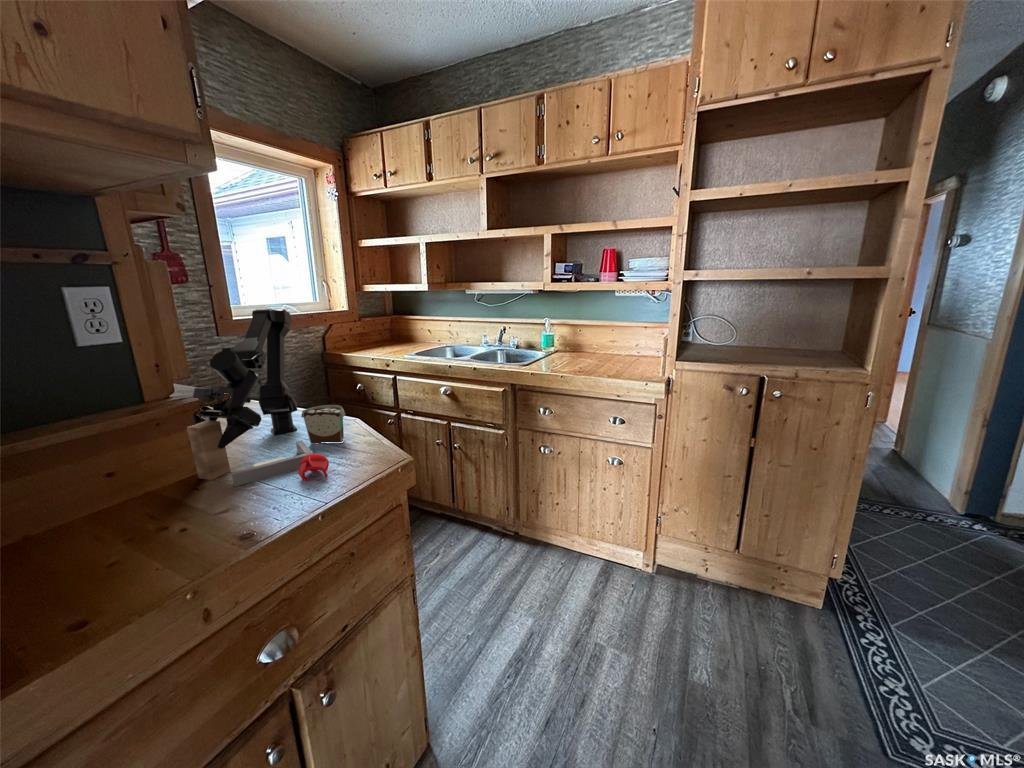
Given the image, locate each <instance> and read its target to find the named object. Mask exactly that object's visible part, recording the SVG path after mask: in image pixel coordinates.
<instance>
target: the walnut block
mask: <svg viewBox="0 0 1024 768" xmlns="http://www.w3.org/2000/svg"><path fill="white" fill-rule="evenodd" d="M191 425H192V424H191ZM191 425H190V426H186V431H187V435H188V441H189V440H190V444H191V445H190V446H191V447H190V448H191V451H192V456H193V459H194V463H195V468H196V472H197V477H198V479H202V480H209V481H210V480H214V479H216V478H218V477H220V476H223V475H225V474H227V473H229V472H231V467H230V461H229V457H228V453H227V448H226V446H225V447H224V448H222V449H220V448H218V444H219V441H220V439H221V437H222V435H223V429H222V426H221V421H220V420H216V421H210V420H207V421H204V422H201V423H198V424H195V425H192V426H191Z"/></svg>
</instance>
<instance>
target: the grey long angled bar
mask: <svg viewBox="0 0 1024 768" xmlns="http://www.w3.org/2000/svg"><path fill="white" fill-rule="evenodd" d="M295 444H296V450H297V453H298V455H295V456H290V457H288V458H287V457H286V458H285V456H281V457H276V458H273V459H270V460H266V461H261V462H257V463H253V464H252V467H248V468H247V467H246V468H243V469H240V470H236V471H233V472H230V473H231V477H232V479H231V480H232V482H233V486H234V488H235V487H239V486H242V485H245V484H250V483H253V482H257V481H261V480H265V479H268V478H272V477H276V476H279V475H282V474H286V473H290V472H293V471H294V472H295V471H297V470H299V467H300V466H301V465H300V464H301V461H302V459H303V458H304V457H306V456H307V455H310V454H314V452H313V451H312V450H311V449H310V448H309V447H308V445H307V444H306V443H305V442H304V441H303V440H298V441H295Z"/></svg>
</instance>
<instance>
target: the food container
mask: <svg viewBox="0 0 1024 768" xmlns="http://www.w3.org/2000/svg"><path fill="white" fill-rule="evenodd" d="M345 416H346V412H345V410H344V408H343V407H342V405H337V404H326V405H318V406H313V407H309V408H306V409H302V411H301V418H303V421H304V424H305V427H306V428H305V429H306V431H307V434H308V439H309V443H310V444H311V443H321V442H342V441H343V439H344V436H345V435H344V417H345ZM344 440H345V439H344Z"/></svg>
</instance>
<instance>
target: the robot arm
mask: <svg viewBox="0 0 1024 768" xmlns="http://www.w3.org/2000/svg"><path fill="white" fill-rule="evenodd" d="M251 315H252V318H251V320H250V323H249V325H248V327H247V330H246V333H245V335H244V338H243V339H242V341H240V342H238V343H236V344H235V345H234V347H231V346H230V347H222V348H221V351H220V352H219V351H218V352H217V353H215V354H214V355H213V356H212V358H210V360H209V365H210V367H211V368H212V369H213V370H214V372H216V373H217V374H218V375H219V376H220V377H221V378H222V379H223V380H224V381H226V382H227V383H226V384H225V386H222V385H216V386H215V387H213V388H204V387H203V388H202V387H201V388H200V387H195V388H194V389H193V393H192V398H198V399H199V400H200V401H201V403H206V402H212V401H214V400H215V399H217V400H221V399H223V398H224V397H223V395H225V394H224V393H229V394H230V396H231V398H229V400H228V401H224V402H220V403H217V404H214V405H210V406H207V407H202V408H201V409H200V414H201V418H202V421H203V422H204V421H207V420H210V421H218V419H226V426H225V429H224V430H223V432H222V434H223V435H222V437H221V439H220V441H219V444H218V448H220V449H222V448H224V447H226V446H228V445H229V444H231V443H232V442H233V441H235V440H236V439H237V438H239V437H241V436H242V435H244V434H246V433H247V432H248V431H249V430H253V429H254V427H259V425H260V424H261V421H262V416H261V414H259V413H258V412H257V411H255V410H253V409H252V408H251V407H248V406H244V405H245V404H249V403H251V401H252V399H251V398H250V395H251V393H252V392H253V390H254V389H255V386H256V385H259V386H260V387H259V397H258V404H259V408H260V410H261V412H262V415H263V416H267V415H270V420H271V424H272V428H270V431H271V433H272V434H273V435H274V436H276V435H281V434H282V435H283V434H284V433H285V434H286V433H290V431H291V432H294V430H295V431H297V430H298V428H297V427H296V426H295V424H294V420H293V414H292V413H294V412H296V411H298V403H297V401H296V399H295V398H294V396H293V395H292V393H291V389H290V388H289V386H288V384H287V383H286V382H285V337H286V336H287V334H288V333H289V332H290V330H291V323H292V315H291V313H290V312H289V311H287V310H286V309H285V308H281V309H280V308H279V309H278V308H277V309H273V308H256V309H253V310H252V312H251ZM265 342H266V354H265V351H264V350H263V349H264V347H265V346H264V345H265ZM265 364H266V381H265V383H264V384H262V378H261V376H260V374H259V373H255V372H254V370H261V369H262V368H263V367H264V365H265ZM261 384H262V385H261ZM200 401H199V402H200ZM200 414H199V410H198V414H197V415H195V414H193V419H194V421H195V424H198V423H201V422H202V421H201V419H200ZM188 445H189V446H191V444H190V440H189V439H188Z"/></svg>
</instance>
